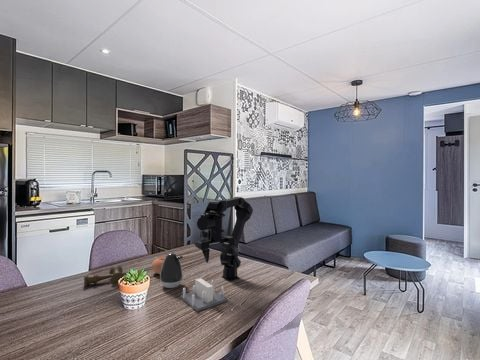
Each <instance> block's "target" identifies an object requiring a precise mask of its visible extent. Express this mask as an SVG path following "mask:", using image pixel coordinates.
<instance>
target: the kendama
mask: <svg viewBox="0 0 480 360" xmlns="http://www.w3.org/2000/svg"><path fill="white" fill-rule="evenodd" d="M123 270H124V269H123V267H122V266H120V265H114V266H112V267H111V268H110V269H109V274H97V273H94V274H93V275H88V274H84V276H83V284H84V287H87V286H88V285H92V284H95V285H96V284H98V283H99V282H101V281H105V280H107V279H110V280H111V283H112V284H114V285H118V280H119V279H120V278H122V277H123V276H124V277H125V275H127V274H126V273H127V272H128V271H127V272H126V271H125V272H123Z"/></svg>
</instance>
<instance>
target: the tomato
mask: <svg viewBox="0 0 480 360" xmlns="http://www.w3.org/2000/svg"><path fill="white" fill-rule="evenodd" d="M165 258H166V256H163V257H158V258H156V259H154V260H153V261H152V263H151V270H152V272H153V273H154V274H155V273H156V274H157V275H160V273H161V268H162V265H163V262H164V260H165Z"/></svg>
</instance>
